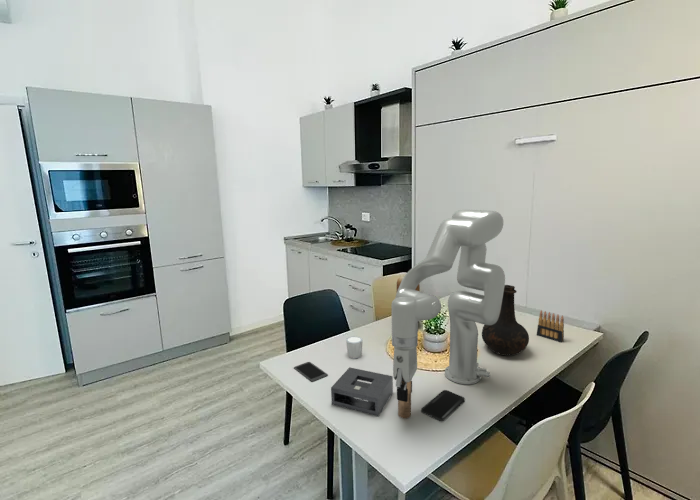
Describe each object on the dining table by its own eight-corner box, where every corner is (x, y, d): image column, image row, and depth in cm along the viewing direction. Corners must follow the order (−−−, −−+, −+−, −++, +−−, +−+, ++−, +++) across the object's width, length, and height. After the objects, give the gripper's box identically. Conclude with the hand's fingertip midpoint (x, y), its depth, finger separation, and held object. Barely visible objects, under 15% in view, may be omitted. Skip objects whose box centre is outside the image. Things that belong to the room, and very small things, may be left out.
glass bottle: (478, 340, 161) (480, 279, 156) (521, 342, 158) (525, 280, 153) (484, 359, 144) (487, 291, 139) (533, 362, 141) (538, 292, 136)
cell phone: (312, 383, 130) (311, 381, 130) (293, 368, 141) (292, 367, 141) (328, 376, 135) (328, 374, 135) (309, 362, 146) (309, 361, 145)
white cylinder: (361, 359, 146) (361, 343, 145) (344, 358, 148) (344, 342, 146) (364, 352, 153) (363, 336, 151) (348, 351, 154) (347, 335, 153)
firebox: (392, 392, 123) (392, 375, 122) (378, 416, 110) (378, 398, 109) (349, 382, 129) (349, 366, 128) (331, 404, 117) (331, 387, 116)
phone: (466, 398, 117) (442, 420, 107) (465, 401, 117) (442, 423, 107) (444, 389, 123) (419, 409, 112) (444, 392, 123) (419, 412, 112)
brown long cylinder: (412, 412, 112) (412, 364, 109) (409, 419, 108) (409, 370, 105) (398, 408, 114) (398, 361, 111) (394, 416, 110) (394, 367, 107)
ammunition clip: (536, 335, 165) (538, 310, 163) (538, 334, 166) (540, 309, 164) (561, 342, 157) (563, 316, 154) (563, 341, 158) (565, 315, 156)
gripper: (409, 353, 97) (409, 415, 101) (424, 330, 112) (423, 384, 116) (382, 349, 101) (383, 409, 104) (400, 327, 116) (400, 380, 119)
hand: (404, 395), depth 110 cm, fingers closed on brown long cylinder, 4 cm apart
